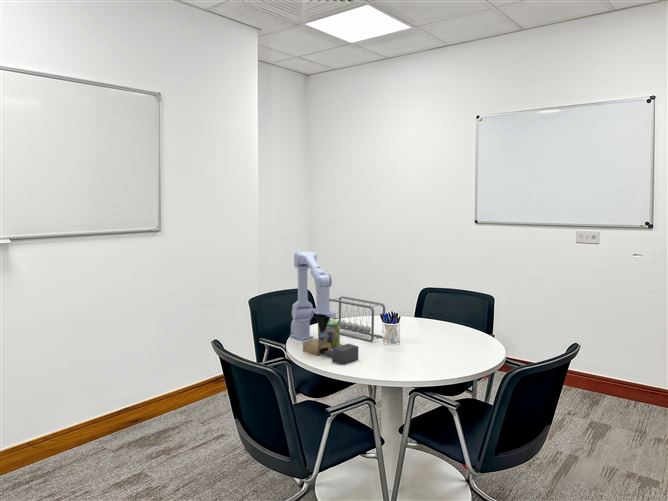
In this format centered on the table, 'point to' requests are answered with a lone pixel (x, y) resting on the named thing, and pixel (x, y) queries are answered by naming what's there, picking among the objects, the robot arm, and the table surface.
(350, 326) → the newton's cradle
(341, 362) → the dark grey rectangular block
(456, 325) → the table surface
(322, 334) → the green multicoloured upright block
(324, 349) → the brown open box
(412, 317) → the table surface
